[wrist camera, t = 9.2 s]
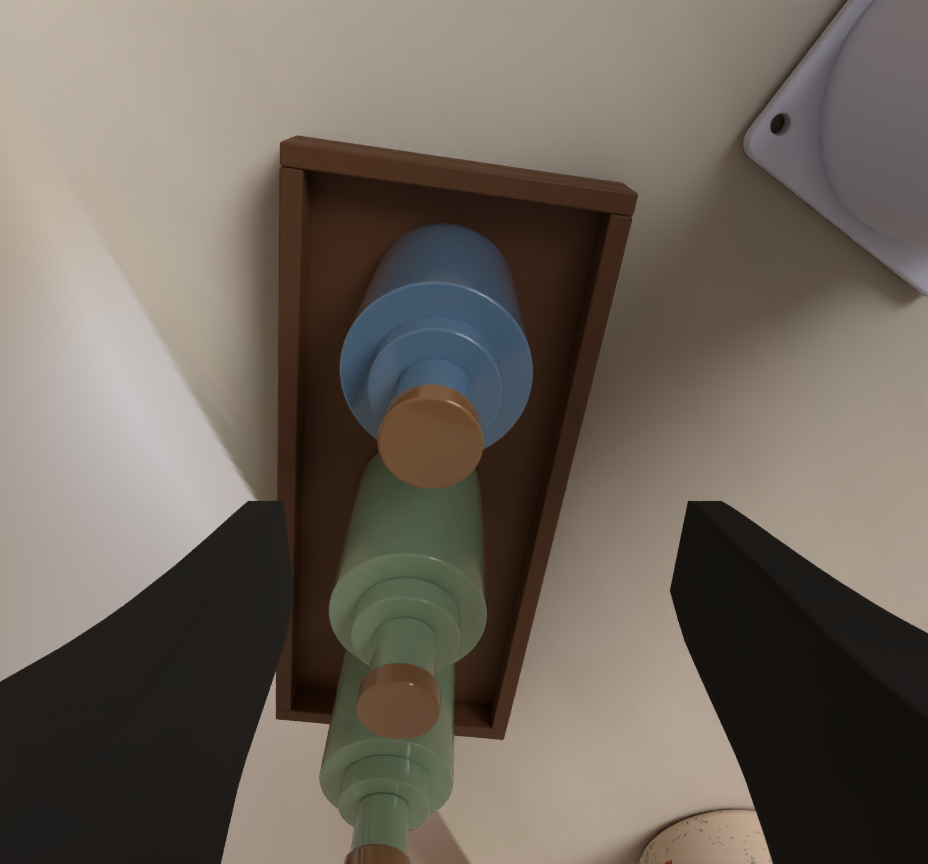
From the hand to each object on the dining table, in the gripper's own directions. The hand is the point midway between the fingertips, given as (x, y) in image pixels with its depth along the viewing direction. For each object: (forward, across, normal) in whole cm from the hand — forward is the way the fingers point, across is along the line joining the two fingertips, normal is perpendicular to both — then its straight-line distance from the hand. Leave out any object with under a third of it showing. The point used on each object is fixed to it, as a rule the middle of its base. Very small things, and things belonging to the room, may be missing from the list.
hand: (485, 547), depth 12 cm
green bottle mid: (+10, +2, +5) cm, 11 cm away
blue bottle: (+10, +1, -2) cm, 10 cm away
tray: (+10, +2, +5) cm, 12 cm away
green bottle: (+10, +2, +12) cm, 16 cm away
